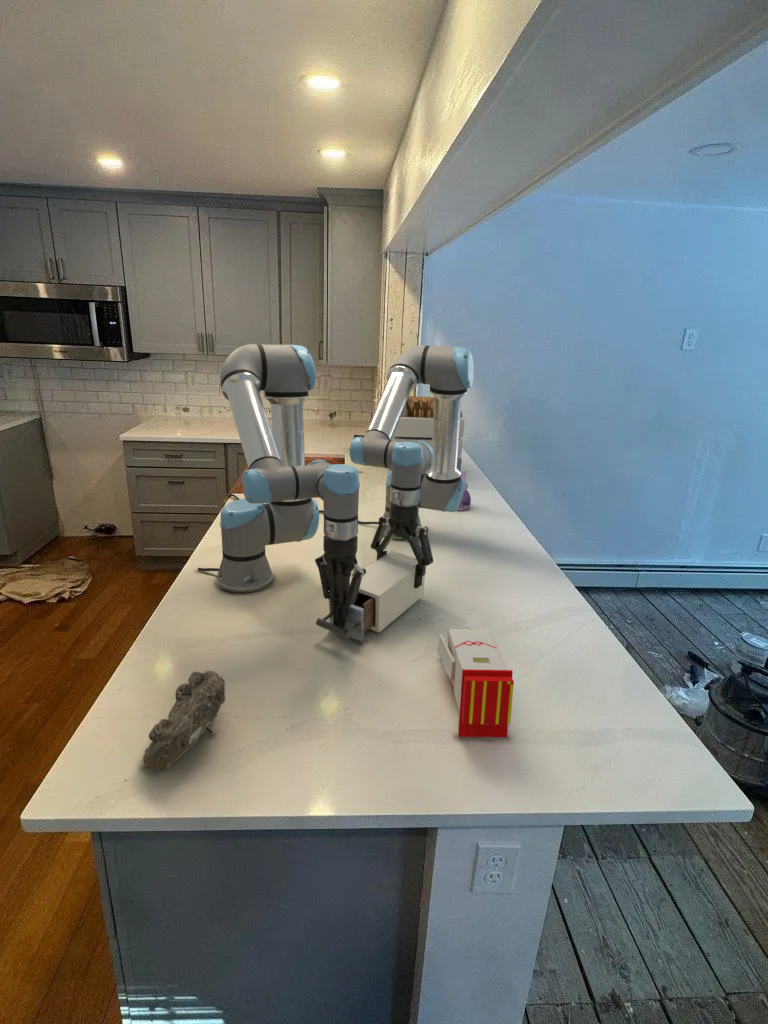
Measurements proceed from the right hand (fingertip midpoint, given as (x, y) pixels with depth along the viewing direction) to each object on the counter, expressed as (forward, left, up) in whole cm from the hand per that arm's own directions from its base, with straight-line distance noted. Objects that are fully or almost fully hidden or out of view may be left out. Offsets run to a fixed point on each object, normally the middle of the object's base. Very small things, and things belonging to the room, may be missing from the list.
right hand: (399, 580), depth 153 cm
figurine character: (-139, +96, -6) cm, 169 cm away
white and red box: (+39, -15, -6) cm, 42 cm away
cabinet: (+2, -6, -5) cm, 8 cm away
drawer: (+4, -16, -5) cm, 17 cm away
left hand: (+7, -25, -2) cm, 26 cm away
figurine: (-42, +72, -6) cm, 83 cm away
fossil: (+15, -64, -6) cm, 66 cm away
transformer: (-88, +93, -6) cm, 128 cm away
